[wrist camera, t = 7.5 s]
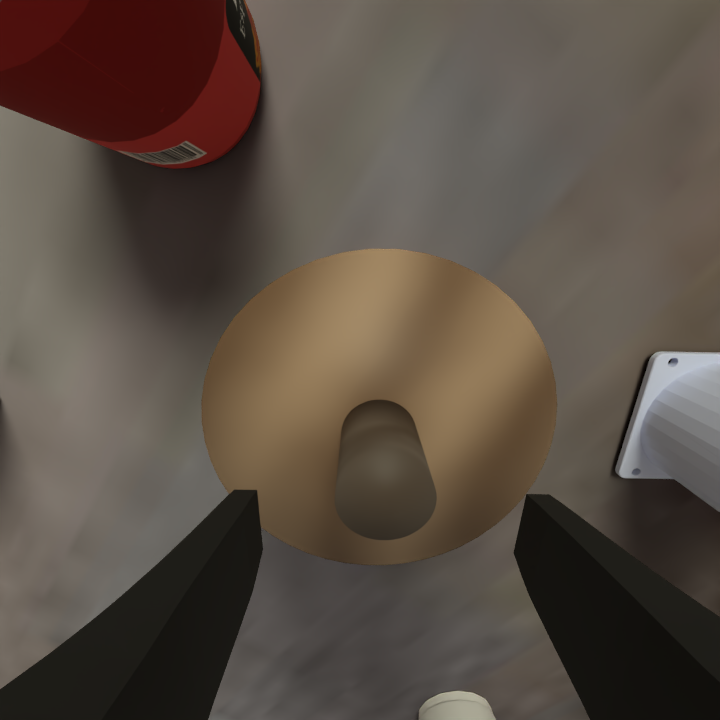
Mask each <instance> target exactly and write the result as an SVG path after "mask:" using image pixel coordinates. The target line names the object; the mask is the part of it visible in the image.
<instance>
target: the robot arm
mask: <svg viewBox="0 0 720 720" xmlns="http://www.w3.org/2000/svg"><path fill="white" fill-rule="evenodd" d="M670 359H672V360H671V362H670V363H669V364H668V362H669V360H670ZM615 471H616V473H617V474H618V475H619V476H620V477H622V478H643V479H675V480H676V481H677V482H679V483H680V484H681V485H683V486H684V487H686V488H687V489H688V490H690V491H691V492H692V493H694V494H695V495H696V496H698V497H699V498H701V499H702V500H703V501H705V502H706V503H707V504H709V505H710V506H711V507H713V508H714V509H716V510H717V511H718V512H720V353H715V352H657V353H655V354H653V355H652V356H651V358H650V360H649V362H648V366H647V369H646V372H645V375H644V378H643V382H642V385H641V388H640V391H639V394H638V398H637V401H636V404H635V407H634V410H633V414H632V417H631V420H630V423H629V426H628V430H627V433H626V436H625V439H624V442H623V446H622V449H621V452H620V455H619V458H618V462H617V465H616V468H615ZM262 551H263V545H262V535H261V525H260V514H259V504H258V493H257V490H235V489H234V490H233V491H232V492H231V493H230V494H229V495H228V496H227V497H226V498H225V499H224V500H223V501H222V502H221V503H220V504H219V505H218V506H217V507H216V508H215V509H214V510H213V511H212V512H211V513H210V514H209V515H208V516H207V517H206V518H205V519H204V520H203V521H202V522H201V523H200V524H199V525H198V526H197V527H196V528H195V529H194V530H193V531H192V532H191V533H190V534H189V535H188V536H186V537H185V538H184V539H183V540H182V541H181V542H180V543H179V544H178V545H177V546H176V547H175V548H174V549H173V550H172V551H171V552H170V553H169V554H168V555H167V556H165V557H164V558H163V559H162V560H161V561H160V562H159V563H158V564H157V565H156V566H155V567H153V568H152V569H151V570H150V571H149V572H148V573H147V574H146V575H144V576H143V577H142V578H141V579H140V580H139V581H138V582H137V583H135V584H134V585H133V586H132V587H131V588H130V589H129V590H128V591H126V592H125V593H124V594H123V595H122V596H121V597H119V598H118V599H117V600H116V601H115V602H114V603H112V604H111V605H110V606H109V607H108V608H106V609H105V610H104V611H103V612H102V613H100V614H99V615H98V616H97V617H96V618H94V619H93V620H92V621H91V622H89V623H88V624H87V625H86V626H84V627H83V628H82V629H80V630H79V631H78V632H77V633H75V634H74V635H73V636H72V637H70V638H69V639H68V640H67V641H65V642H64V643H63V644H61V645H60V646H59V647H57V648H56V649H55V650H54V651H52V652H51V653H50V654H48V655H47V656H46V657H44V658H43V659H41V660H40V661H39V662H37V663H36V664H35V665H33V666H32V667H30V668H29V669H28V670H26V671H25V672H23V673H22V674H21V675H19V676H18V677H17V678H15V679H14V680H12V681H11V682H10V683H8V684H7V685H6V686H4V687H3V688H1V689H0V720H208V718H209V715H210V712H211V709H212V706H213V703H214V700H215V697H216V694H217V691H218V688H219V686H220V683H221V680H222V677H223V674H224V672H225V669H226V666H227V663H228V660H229V657H230V655H231V652H232V649H233V646H234V643H235V640H236V638H237V635H238V632H239V629H240V626H241V624H242V621H243V618H244V615H245V612H246V609H247V606H248V603H249V601H250V598H251V595H252V592H253V588H254V584H255V580H256V576H257V572H258V568H259V563H260V559H261V555H262ZM514 555H515V558H516V561H517V564H518V567H519V569H520V572H521V575H522V578H523V580H524V583H525V586H526V588H527V591H528V593H529V596H530V598H531V600H532V602H533V604H534V606H535V609H536V611H537V613H538V615H539V617H540V619H541V621H542V623H543V625H544V627H545V629H546V631H547V633H548V635H549V637H550V639H551V641H552V643H553V645H554V647H555V649H556V651H557V653H558V655H559V657H560V659H561V661H562V663H563V665H564V667H565V669H566V671H567V673H568V675H569V677H570V679H571V681H572V683H573V685H574V687H575V689H576V691H577V693H578V695H579V697H580V699H581V701H582V703H583V705H584V707H585V710H586V712H587V714H588V716H589V718H590V720H720V617H719V616H717V615H716V614H714V613H713V612H711V611H710V610H708V609H707V608H705V607H704V606H702V605H701V604H700V603H698V602H697V601H695V600H694V599H692V598H691V597H689V596H688V595H686V594H685V593H684V592H682V591H681V590H679V589H678V588H676V587H675V586H673V585H672V584H671V583H669V582H668V581H666V580H665V579H663V578H662V577H661V576H659V575H658V574H656V573H655V572H654V571H652V570H651V569H649V568H648V567H647V566H645V565H644V564H643V563H641V562H640V561H638V560H637V559H636V558H634V557H633V556H632V555H630V554H629V553H628V552H626V551H625V550H623V549H622V548H621V547H619V546H618V545H617V544H615V543H614V542H613V541H611V540H610V539H609V538H607V537H606V536H605V535H603V534H602V533H601V532H599V531H598V530H597V529H595V528H594V527H593V526H592V525H590V524H589V523H588V522H586V521H585V520H584V519H582V518H581V517H580V516H578V515H577V514H576V513H574V512H573V511H572V510H570V509H569V508H568V507H566V506H565V505H563V504H562V503H561V502H559V501H558V500H556V499H555V498H553V497H552V496H551V495H542V494H526V499H525V503H524V508H523V513H522V517H521V522H520V526H519V531H518V535H517V540H516V545H515V549H514Z"/></svg>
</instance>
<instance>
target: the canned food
mask: <svg viewBox="0 0 720 720" xmlns="http://www.w3.org/2000/svg"><path fill="white" fill-rule="evenodd" d="M260 83H261V56H260V46H259V40H258V36H257V32H256V28H255V24H254V21H253V18H252V15H251V13H250V11H249V9H248V6H247V4H246V2H245V0H0V106H3V107H5V108H8V109H10V110H13V111H16V112H18V113H21V114H23V115H26V116H28V117H31V118H33V119H36V120H38V121H41V122H44V123H46V124H49V125H51V126H54V127H56V128H59V129H61V130H64V131H66V132H69V133H72V134H74V135H77V136H79V137H82V138H84V139H87V140H89V141H92V142H94V143H97V144H100V145H102V146H105V147H107V148H110V149H112V150H115V151H117V152H120V153H122V154H125V155H127V156H130V157H133V158H135V159H138V160H140V161H143V162H146V163H149V164H151V165H154V166H158V167H165V168H172V169H177V168H191V167H195V166H199V165H203V164H206V163H209V162H213V161H214V160H216V159H218V158H220V157H221V156H223V155H225V154H226V153H228V152H229V151H230V150H231V149H232V148H233V147H234V146H235V145H236V144H237V143H238V142H239V141H240V139H241V138H242V137H243V135H244V134H245V132H246V131H247V130H248V128H249V126H250V123H251V121H252V119H253V117H254V115H255V112H256V108H257V104H258V100H259V96H260Z"/></svg>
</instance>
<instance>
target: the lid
mask: <svg viewBox="0 0 720 720" xmlns="http://www.w3.org/2000/svg"><path fill="white" fill-rule="evenodd" d="M556 412H557V396H556V383H555V379H554V374H553V370H552V366H551V361H550V359H549V356H548V354H547V351H546V349H545V347H544V344H543V342H542V340H541V338H540V336H539V335H538V333H537V331H536V330H535V328H534V326H533V325H532V323H531V321H530V320H529V319H528V317H527V316H526V315H525V314H524V313H523V311H522V310H521V309H520V308H519V307H518V305H517V304H516V303H515V302H514V301H513V300H512V299H511V298H509V297H508V296H507V295H506V294H505V293H504V292H503V291H502V290H500V289H499V288H498V287H497V286H496V285H494V284H493V283H491V282H490V281H488V280H487V279H485V278H484V277H482V276H480V275H479V274H477V273H476V272H474V271H472V270H470V269H468V268H465V267H463V266H461V265H459V264H457V263H455V262H452V261H450V260H446V259H443V258H440V257H436V256H433V255H430V254H426V253H420V252H414V251H407V250H400V249H365V250H357V251H350V252H343V253H340V254H336V255H332V256H328V257H325V258H321V259H317V260H315V261H313V262H310V263H308V264H306V265H303V266H301V267H299V268H296V269H294V270H292V271H290V272H289V273H287V274H285V275H284V276H282V277H280V278H279V279H277V280H275V281H274V282H272V283H270V284H269V285H268V286H267V287H265V288H264V289H263V290H262V291H261V292H259V293H258V294H257V295H256V296H254V297H253V298H252V299H251V300H250V301H249V302H248V303H247V304H246V305H245V306H244V307H243V309H242V310H241V311H240V312H239V313H238V314H237V315H236V316H235V317H234V319H233V320H232V322H231V323H230V325H229V326H228V328H227V329H226V331H225V332H224V334H223V335H222V337H221V338H220V340H219V342H218V345H217V347H216V349H215V351H214V353H213V355H212V357H211V360H210V363H209V367H208V370H207V373H206V377H205V380H204V388H203V395H202V426H203V432H204V438H205V443H206V447H207V450H208V453H209V456H210V460H211V462H212V464H213V466H214V469H215V471H216V473H217V475H218V477H219V479H220V481H221V482H222V484H223V485H224V487H225V489H226V490H227V492H228V493H229V494H230V493H231V492H232V491H233V490H234V489H235V490H257V493H258V504H259V514H260V525H261V527H262V528H263V529H265V530H266V531H267V532H269V533H270V534H271V535H273V536H275V537H276V538H278V539H280V540H282V541H283V542H285V543H287V544H288V545H290V546H293V547H295V548H297V549H300V550H302V551H304V552H306V553H309V554H312V555H316V556H319V557H322V558H325V559H329V560H334V561H339V562H343V563H351V564H361V565H391V564H401V563H408V562H413V561H418V560H423V559H427V558H430V557H434V556H437V555H440V554H443V553H446V552H448V551H451V550H453V549H455V548H458V547H460V546H462V545H464V544H466V543H468V542H470V541H471V540H473V539H475V538H477V537H479V536H480V535H482V534H483V533H484V532H486V531H487V530H489V529H490V528H492V527H493V526H495V525H496V524H497V523H498V522H499V521H500V520H501V519H503V518H504V517H505V516H506V515H507V514H508V513H510V511H511V510H512V509H513V508H514V507H515V506H516V505H517V504H518V503H519V502H520V501H521V499H522V498H523V497H524V496H525V494H526V493H527V491H528V490H529V489H530V487H531V486H532V484H533V483H534V482H535V480H536V478H537V476H538V474H539V472H540V470H541V469H542V467H543V465H544V462H545V460H546V457H547V454H548V452H549V449H550V446H551V443H552V439H553V434H554V430H555V425H556Z"/></svg>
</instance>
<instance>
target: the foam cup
mask: <svg viewBox="0 0 720 720" xmlns="http://www.w3.org/2000/svg"><path fill="white" fill-rule="evenodd" d="M419 720H496V718H495V717H494V715H493V712H492V708H491V707H490V705H489V704H488V702H487V700H486V699H485V698H483V697H481V696H479V695H477V694H475V693H472V692H464V691H452V692H445V693H440V694H438V695H436V696H434V697H432V698H430V699H428V700H426V702H425V703H424V704H423V705H422V707H421V708H420V709H419Z"/></svg>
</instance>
